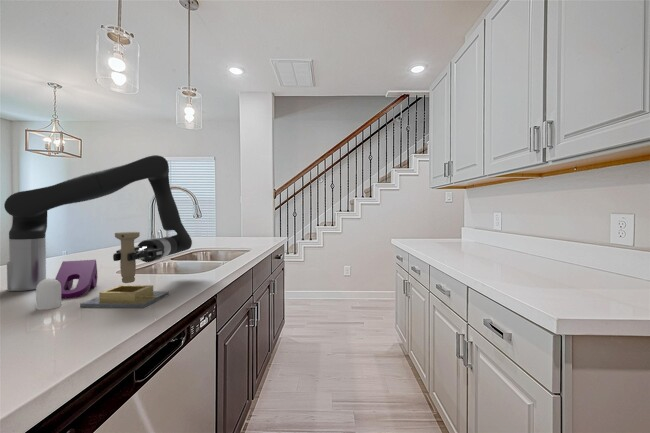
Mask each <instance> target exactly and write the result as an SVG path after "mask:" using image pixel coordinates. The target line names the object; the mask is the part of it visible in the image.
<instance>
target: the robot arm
mask: <svg viewBox="0 0 650 433" xmlns="http://www.w3.org/2000/svg"><path fill="white" fill-rule="evenodd" d="M169 173H170V168H169V163H168V160H167V159H166V158H165V157H164V156H161V155H159V154H150V155H147V156H144V157H141V158H140V159H139V158H138V159H136V160H133V161H131V162H128V163H125V164H122V165H117V166H114V167H108V168H105V169H101V170H98V171H97V170H96V171H94V172H90V173H89V172H88V173H86V174H83V175H80V176H77V177H73V178H71V179H67V180H64V181H62V182H58V183H56V184H53V185H49V186H44V187H39V188H34V189H29V190H22V191H17V192H14V193H13V194H11V195H9V196H8V197H7V198H6V200H5V202H4V210H5V212H6V213H7V214H9V215H10V216H12V224H11V228H10V230H9V231H8V246H9V247H8V251H9V254H8V255H9V258H8V259H9V260H8V262H6V288H7V290H6V291H7V292H24V291H32V290H36V288H37V285H38V284H39V283H40V282H41V281H42V280H44V279H47V266H46V265H47V258H46V257H47V256H46V254H47V251H46V249H47V248H46V244H47V242H46V232H47V229H48V211H50V210H52V209H55V208H58V207H62V206H65V205H70V204H77V203H81V202H88V201H91V200H95V199H98V198H102V197H106V196H110V195H111V194H113V193H116V192H118V191H119V190H121V189H124V188H125V187H127V186H128V185H131V184H132V183H135V182H138V181H139V182H140V181H142V180H145V179H147V180H148V182H149V184H150V186H151V189H152V190H153V193H154V197H155V201H156V208H157V211H158V216H159V220H160V223H161V226H162V229H163V230H164V231H167V232H171V231H175V233H176V234H175V235H172V236H164V237H156V238H150V239H149V238H148V239H145V240H142V241H140V242H139V243H138V244H137V246H136V245H135V246H134V249H135V252H133V253H129V254H128V255H127V260H128V261H133V260H139V261H141V262H144V263H151V262H154V261H158V260H161V259H163V258H165V257H168V256H172V255H175V254H178V253H182V252H184V251H189V249H191V248H192V246H193V240H192V238H191V235H190V234H189V233H188V231H187V230H186V228H185V226H184V224H183V222H182V220H181V215H180V212H179V210H178V206H177V204H176V201H175V199H174V196H173V193H172V190H171V186H170V175H169ZM112 258H113V261H114V262H118V261H119V262H120V259H121V248H120V249H118V250H116V252H115V253H113V256H112Z"/></svg>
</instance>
